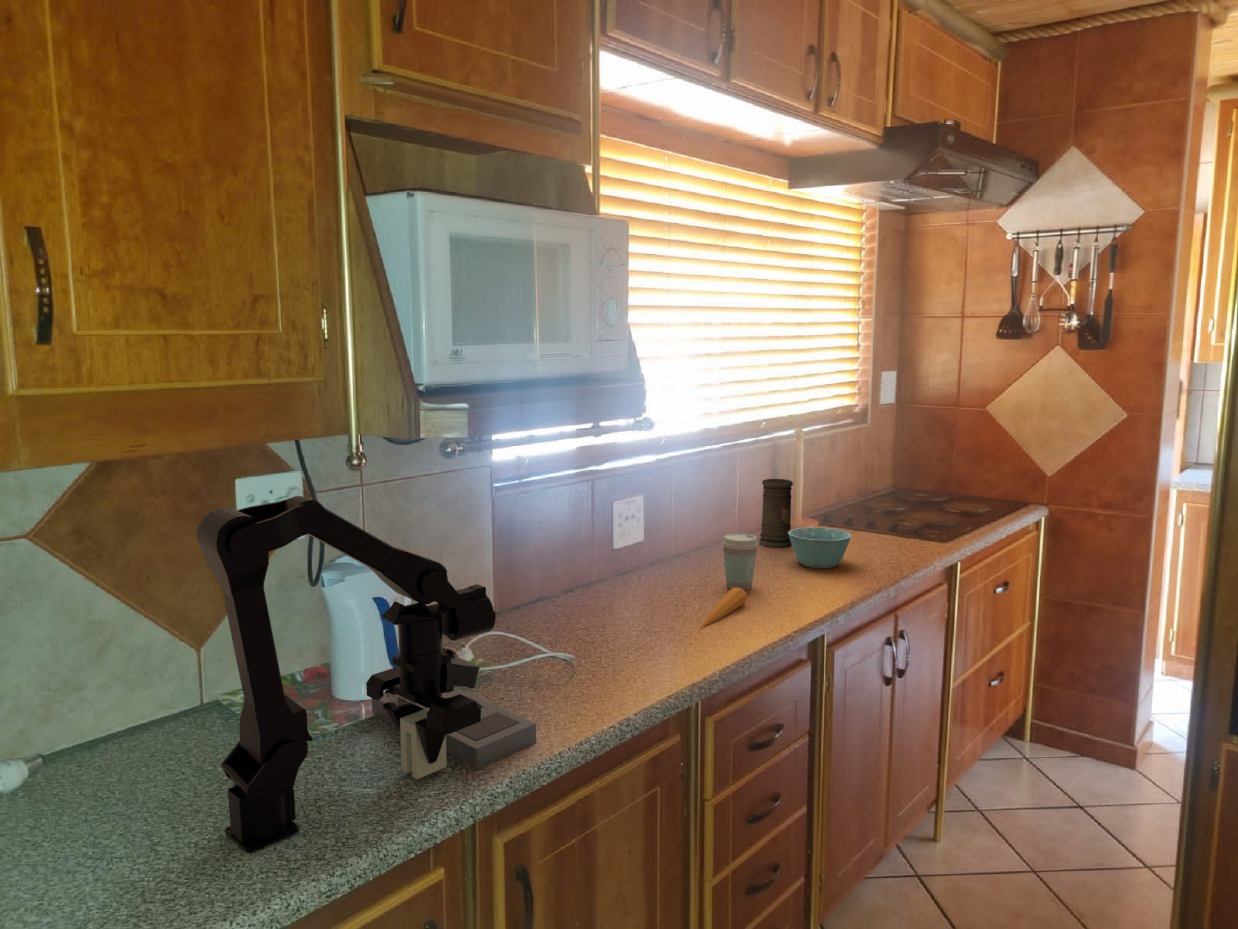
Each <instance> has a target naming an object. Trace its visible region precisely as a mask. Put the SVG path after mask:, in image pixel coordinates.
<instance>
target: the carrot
mask: <svg viewBox="0 0 1238 929" xmlns="http://www.w3.org/2000/svg"><path fill="white" fill-rule="evenodd" d="M746 602H747V592H746V590H743V589H742V588H737V587H735V588H732V589H730V590H729V591H727V592H726V594H725V595H724V596H723V597H722V599H721V600H720V601H719V602H718V603H717V605H716V606H715V607H714V609H713V610H712V611H711V613H710V614H708V616H707V618H706V619H705V620H704V622H703V623H702V625H701V627H700V629H702V628H704V627H706V626H708V625H711V624H712V623H715V622H717V621H718V620H720V619H722V618H723V617H725V616H727V615H729V614H730V613H733V611H736V610H737V609H739V608H741V607H742V606H743V605H745V604H746Z"/></svg>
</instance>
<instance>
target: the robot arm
mask: <svg viewBox="0 0 1238 929" xmlns="http://www.w3.org/2000/svg"><path fill="white" fill-rule="evenodd" d="M307 535H308V536H309V537H312V538H313V539H315V540H317V541H319V542H321V543H323V544H324V545H326V546H328V547H330V548H332V549H334V550H335V551H337V552H340V553H342V554H343V555H346V556H347V557H349V558H350V559H352V560H355V561H357V562H358V563H360V564H361V565H364V566H366V567H367V568H369V569H370V571H372V572H373V573H374V574H375V575H376V576H377V578H379V579H380V580H381V582H383V583H384V584H385V585H386V586H388V587H389V588H391V589H392V590H393V592H395V593H397V594H399V595H401V596H403V597H405V598H408V599H410V600H413V601H414V603H409V604H406V605H405V604H402V603H400V602H398V601H393V602H392V605H391V606H390V607H389V608H388V609H386V610H385V612H384V613H382V615H381V619H382V620H385V621H386V622H389V623H390V624H392V625H394V626H397V630H398V632H397V633H398V635H397V637H398V654H396V655H394V656H392V665H393V666H394V665H395V666H396V667H393V668H389V669H386V670H383V671H380V672H377V673H374V674H371V675H370V677H369V679H368V680H367V681H366V683H365V684H366V685H365V686H366V688H365V689H366V696H368V697H369V698H371V699H372V698H373V699H375V700H380V699H381V698H382V697H383V696H384V693H383V692H385V694H387V698H388V703H385V704H383V708H384V709H385V710H386V711H387V713H388V714H389V716H390V717H391V719H392V721H393V722H394V724H395V726H396V727H395V726H394V727H395V728H396V729H397V731H398V732H399V734H400V735H401V732H400V718H402V717H405V716H407V715H410V714H413V713H416V712H418V711H421V710H424V709H425V710H428V712H427V714H426V718H425V719H422V720H419V721H417V722H415V725H416V728H417V731H418V734H419V737H420V740H421V743H422V746H423V750H424V753H425V755H426V758H427V760H428V763H430V764H432V763H434V762H436V761H437V758H438V755H439V752H440V749H441V746H442V744H443V741H444V738H445V735H446V734H451V733H453V732H456V731H458V730H461V729H463V728H466V727H468V726H471V725H473V724H476V723H478V722H481V719H482V714H481V705H480V704H479V703H477V702H476V701H474V700H472V699H470V698H468V697H465V696H463V695H461V694H459V695H456V696H453V697H450V698H443V697H441V696H442V693H444V692H446V693H449V692H452V691H454V687H465V688H468V689H472V690H473V689H475V687H476V684H477V680H478V675H479V671H480V668H481V666H480V665H479V664H476V663H473V662H472V661H470V660H469V661H468V660H466V659H463V658H459V657H457V656H455V651H454V650H452V649H450V648H447V647H443V636H446V638H447V639H449V641H460V640H463V639H466V638H470V637H474V636H477V635H481V634H485V633H489V632H492V630H493V629H494V627H495V625H496V618H497V617H496V611H494V607H493V604H492V600H490V598H489V596H488V595H487V587H485V586H484V585H481V584H478V583H477V584H473V585H469V586H467V587H464V588H461V589H457V590H456V589H455V588H454V586H453V584H451V582H450V581H449V580H448V579H449V578H448V570H447V567H446V566H444V565H443V564H442V563H441V562H438V561H437V560H433V559H430V558H428V557H425V556H422V555H420V554H417V553H414V552H411V551H408V550H405V549H403V548H400V547H397V546H396V547H395V546H392V545H390V543H387V542H385V541H383V539H381V538H379V537H377V536H375V535H373V534H371V533H370V532H369V531H366V530H364V529H362V528H361V527H359V526H357V525H356V524H354V523H352V522H351V521H348V520H347V519H345V518H344V517H342V516H340V515H338V514H336V513H335V512H333V511H331V510H330V509H328V508H326V507H325V506H324V505H323V504H322V502H320V501H317V500H315V499H312V498H309V497H306V496H303V495H295V496H293V497H289V498H286V499H282V500H279V501H274V502H268V503H263V504H257V505H252V506H251V505H250V506H247V507H243V508H240V509H233V508H229V507H224V508H223V507H222V508H216V509H214V510H212V511H210V512H209V513H207V514H206V515H205V516H204V517H203V518H202V520H201V521H200V523H199V524H198V525H197V528H196V539H197V544H198V546H199V547H200V550H201V552H202V555H203V557H204V559H205V562H206V564H207V566H208V568H209V569H210V572H211V573H212V574H213V576H214V578H215V580H216V582H217V584H218V585H219V587H220V589H221V592H222V597H223V601H224V607H225V611H226V616H227V620H228V626H229V631H230V636H231V639H232V640H231V641H232V645H233V650H234V655H235V659H236V664H237V666H236V667H237V669H238V674H239V680H240V684H241V690H242V693H243V706H242V708H241V714H240V718H239V741H238V742H237V743H236V744H235V746H234V747H233V748H232V749H231V750H230V751H229V754H227V756H226V757H225V758H224V760H223V761H222V762H221V765H220V767H221V769H222V771H223V773H224V774H225V776H226V778H227V779H229V780H230V781H231V782H233V784H234V786H232V787H229V788H227V798H228V812H229V826H227V827H225V828H224V834H225V835H226V836H227V837H228V838H230V839H231V840H232V841H233V842H234V843H236V844H237V845H238V846H239V847H240V848H241V849H242V850H244V851H245V852H246V853H252V852H255V851H256V850H260V849H262V848H263V847H266V846H268V845H270V844H273V843H275V842H277V841H280V840H281V839H282V840H283V839H284V838H287V837H289V836H292V835H294V834H296V833H298V832H299V831H300V826H299V825H298V824H297V823H296V822H294V821H295V820H296V816H297V815H296V801H295V800H296V796H295V795H296V794H295V788H294V786H295V782H296V779H297V776H298V772H299V769H300V767H301V765H302V763H304V761H305V759H307V757H308V753H309V744H308V742H312V741H313V740H314V738H313V737H312V735H310V732H309V729H308V714H307V710H306V709H305V708H304V707H303V706H301V705H300V704H299V703H298V702H296V701H295V700H294V699H293V698H291V697H290V696H288V695H287V694H285V690H284V685H283V681H282V676H281V671H280V665H279V659H278V655H277V650H276V644H275V639H274V634H273V629H272V624H271V622H272V621H271V617H270V613H269V607H268V603H267V598H266V593H265V582H266V581H265V580H266V577H267V573H268V568H269V565H270V552H272V551H276V550H278V549H281V548H283V547H286V546H288V545H289V544H291V543H293V542H294V541H296V540H298V539H299V538H301V537H303V536H307ZM432 603H433V604H432Z"/></svg>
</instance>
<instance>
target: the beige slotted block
mask: <svg viewBox="0 0 1238 929" xmlns="http://www.w3.org/2000/svg"><path fill="white" fill-rule="evenodd" d="M427 712H428V710H425V709H424V710H421V711H418V712H416V713H413V714H410V715H407V716H405V717H402V718H400V732H401V734H400V756H401V758H400V759H401V771H402V772H404V773H406V774H409V773H411V776H412V778H415V779H416V780H419V779H421V778H423V777H426V776H428V775H431V774H433V773H436V772H438V771H439V770H440V771H441V770H442V769H445V768H446V767H447V760H448V759H447V753H446V735H445V738H444V741H443V744H442V746H441V749H440V752H439V755H438V758H437V761H436V762H434V763H432V764H430V763H428V760H427V758H426V755H425V753H424V750H423V746H422V743H421V740H420V737H419V734H418V731H417V728H416V725H415V722H417V721H419V720H422V719H425V718H426V714H427ZM400 732H399V733H400Z"/></svg>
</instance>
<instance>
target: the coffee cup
mask: <svg viewBox="0 0 1238 929" xmlns="http://www.w3.org/2000/svg"><path fill="white" fill-rule="evenodd" d="M721 542H722V543H721V546H722V547H723V548H722V549H723V561H724V571H725V582H726V583H725V584H726V588H728V589H730V590H731V589H732V588H735V587H737V588H742V589H743V590H744V591H747V590H750V589H752V588H753V587H752V586H753V580H754V574H755V573H754V572H755V565H756V561H757V560H756V559H757V553H758V548H759V546H760V544H759V541H758V539H757V536H756V535H753V534H748V533H729V534H726V535H724V537H723V540H722V541H721Z"/></svg>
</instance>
